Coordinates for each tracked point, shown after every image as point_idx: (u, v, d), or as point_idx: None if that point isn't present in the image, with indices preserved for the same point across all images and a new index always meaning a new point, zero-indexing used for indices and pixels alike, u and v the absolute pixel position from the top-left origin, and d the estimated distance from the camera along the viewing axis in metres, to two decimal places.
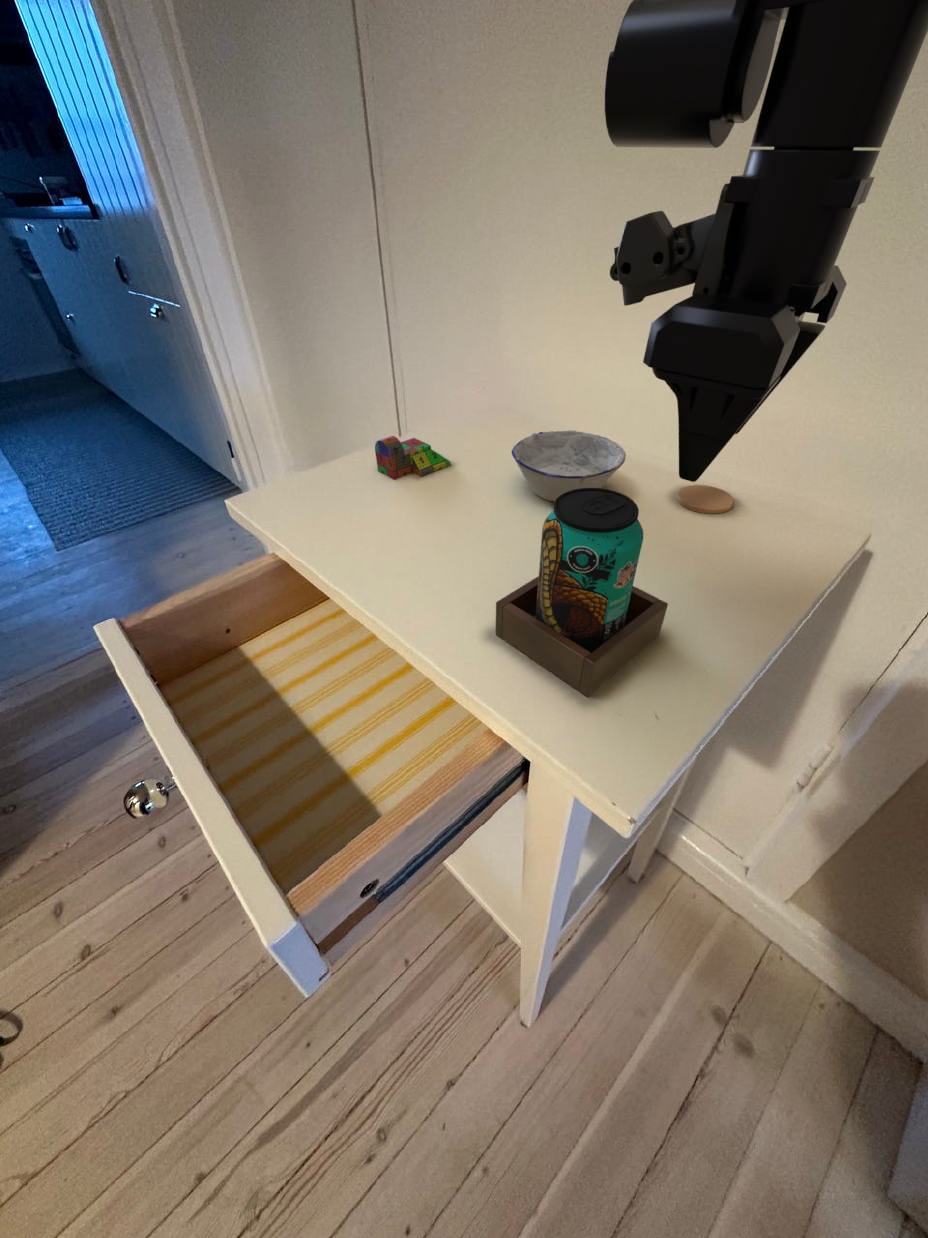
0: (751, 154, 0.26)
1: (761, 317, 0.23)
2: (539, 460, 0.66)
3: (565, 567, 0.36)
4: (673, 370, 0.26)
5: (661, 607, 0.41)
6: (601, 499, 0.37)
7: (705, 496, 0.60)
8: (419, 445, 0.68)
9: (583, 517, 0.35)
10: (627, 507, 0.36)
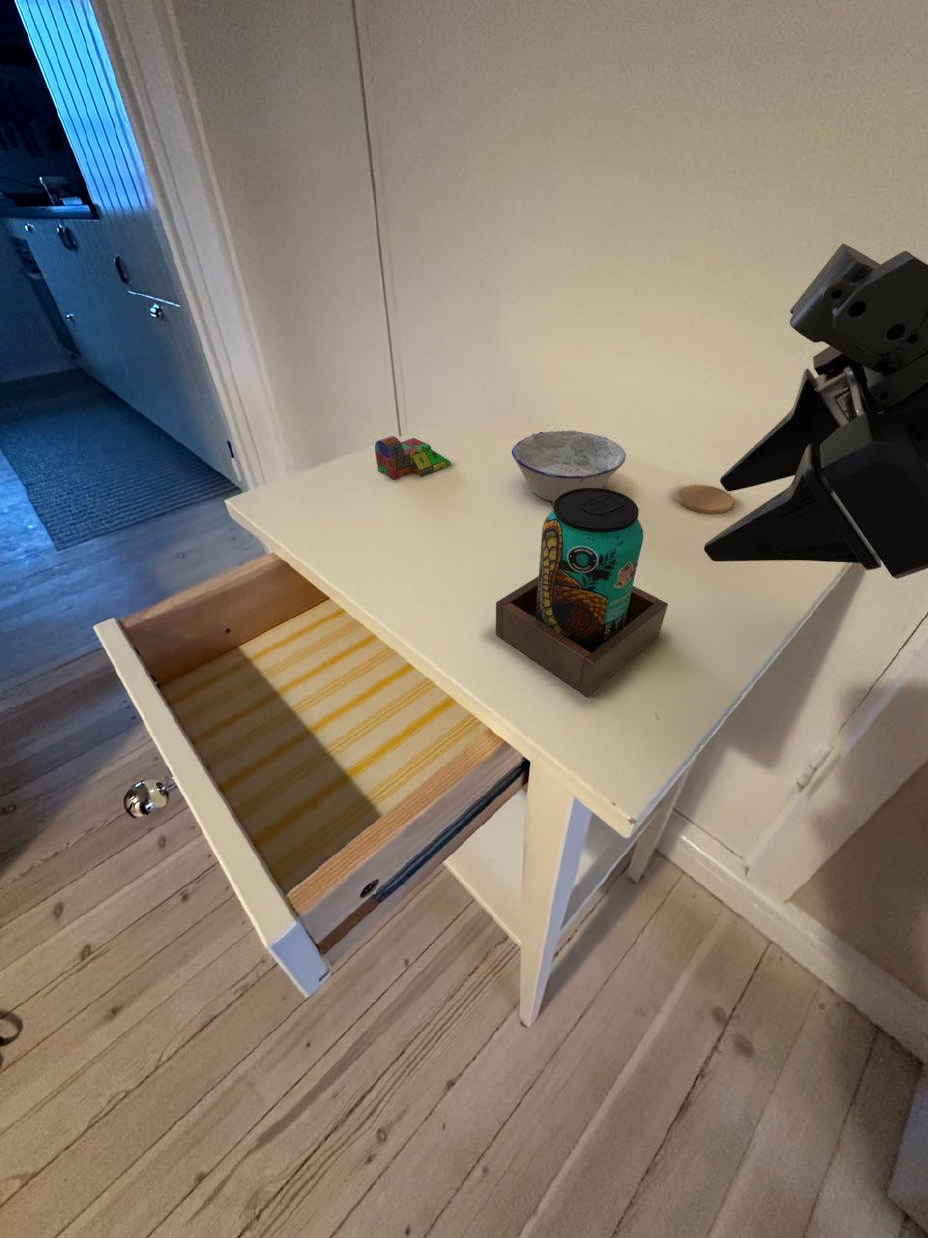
0: None
1: None
2: (539, 460, 0.66)
3: (565, 567, 0.36)
4: (847, 507, 0.21)
5: (661, 607, 0.41)
6: (601, 499, 0.37)
7: (705, 496, 0.60)
8: (419, 446, 0.68)
9: (583, 517, 0.35)
10: (627, 507, 0.36)
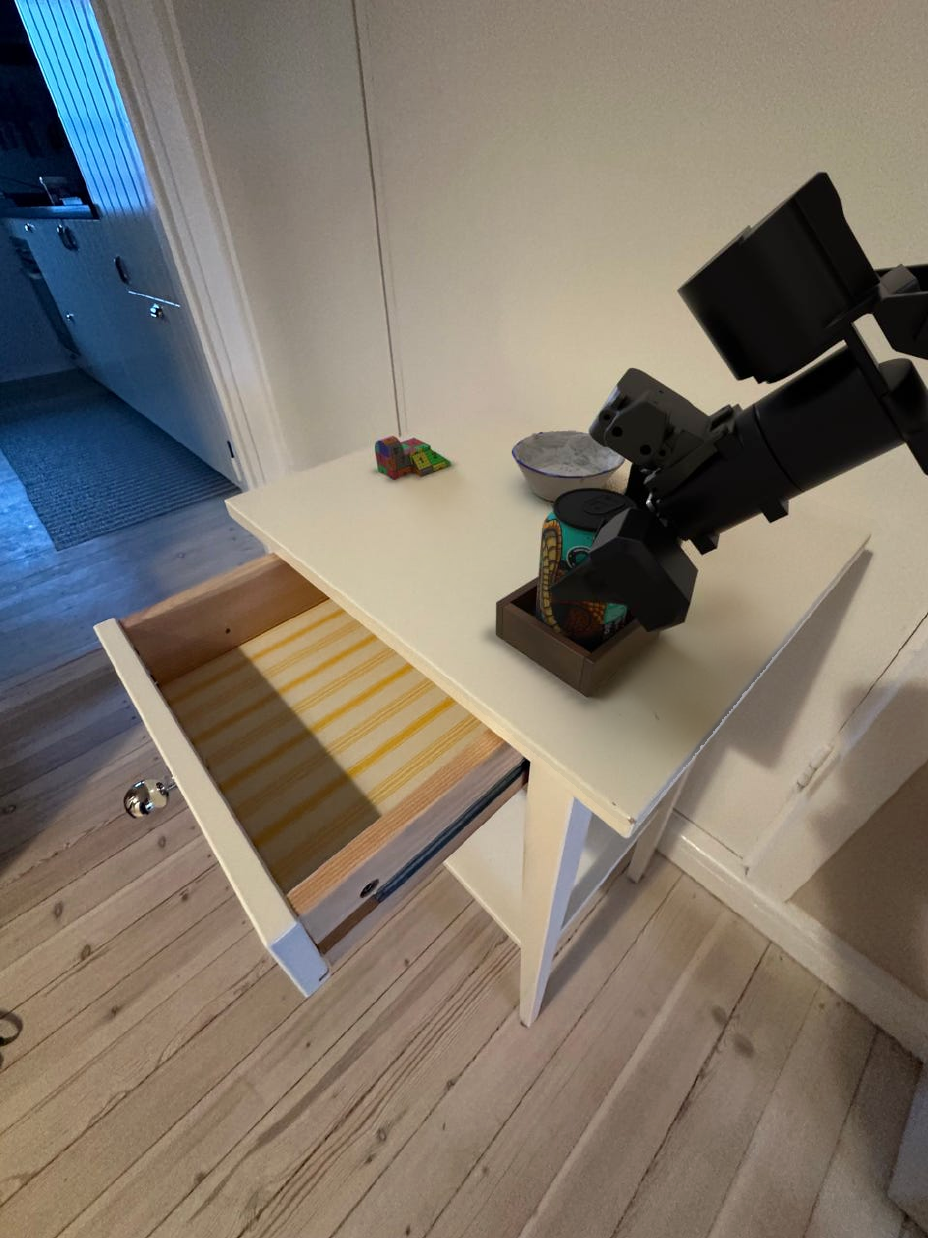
0: (752, 424, 0.28)
1: (685, 598, 0.28)
2: (539, 460, 0.66)
3: (564, 567, 0.36)
4: (607, 581, 0.28)
5: None
6: (601, 499, 0.37)
7: None
8: (419, 445, 0.68)
9: (583, 517, 0.35)
10: (627, 507, 0.36)
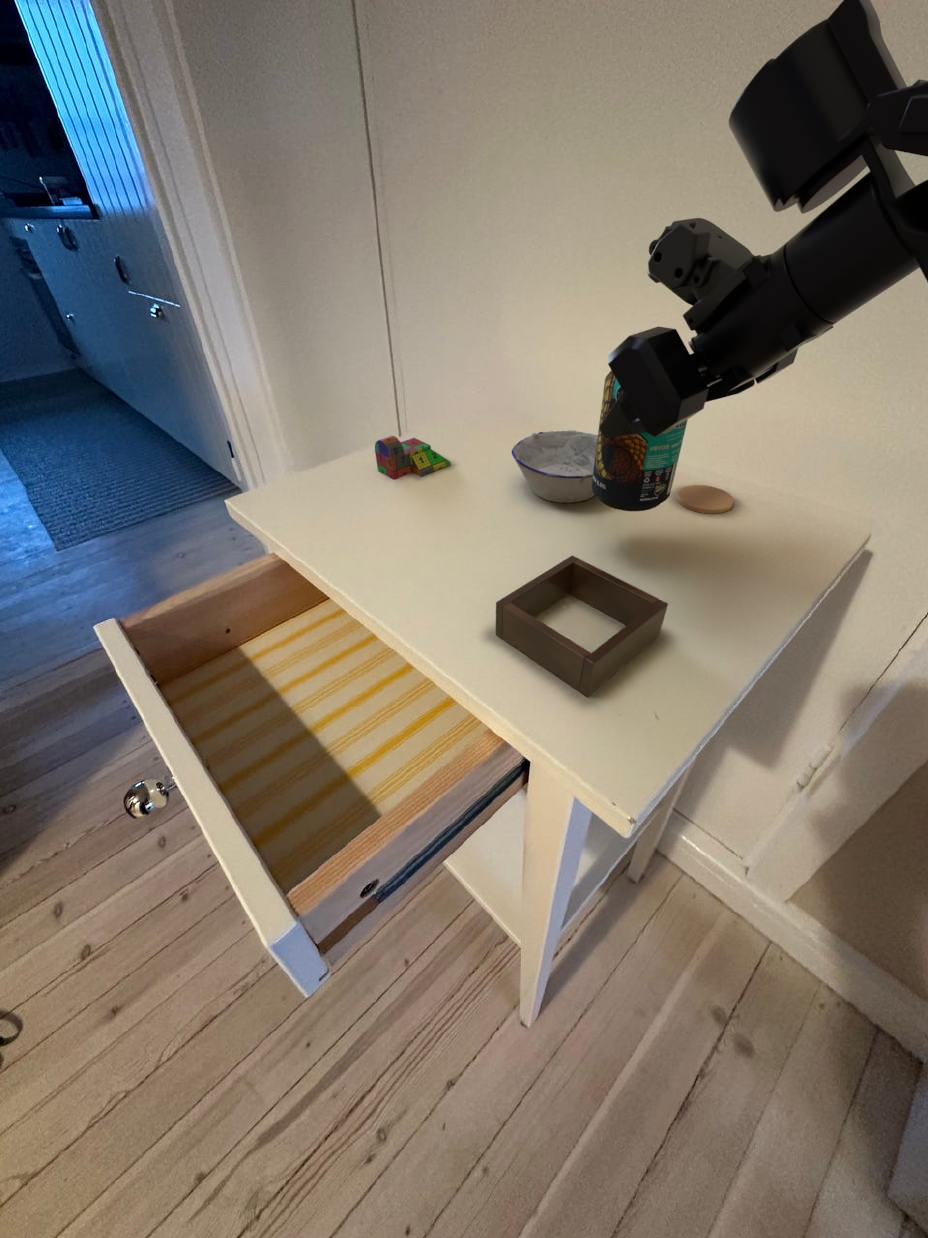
0: (780, 251, 0.31)
1: (678, 395, 0.32)
2: (539, 460, 0.66)
3: None
4: (618, 380, 0.34)
5: (661, 607, 0.41)
6: None
7: (705, 496, 0.60)
8: (419, 445, 0.68)
9: None
10: None
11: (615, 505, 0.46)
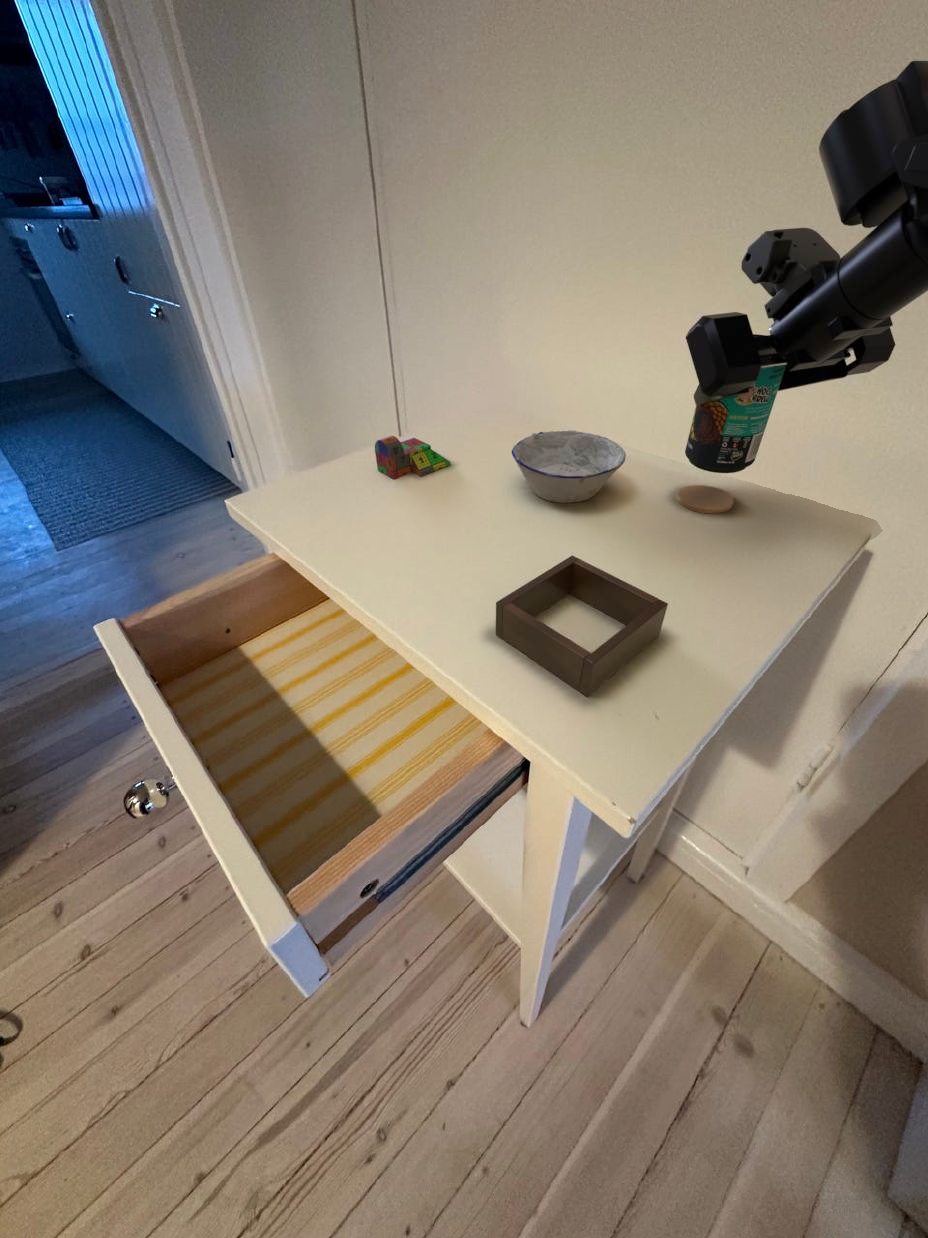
0: None
1: (726, 364, 0.42)
2: (539, 460, 0.66)
3: None
4: (689, 349, 0.45)
5: (661, 607, 0.41)
6: None
7: (705, 496, 0.60)
8: (419, 445, 0.68)
9: None
10: None
11: (697, 463, 0.56)
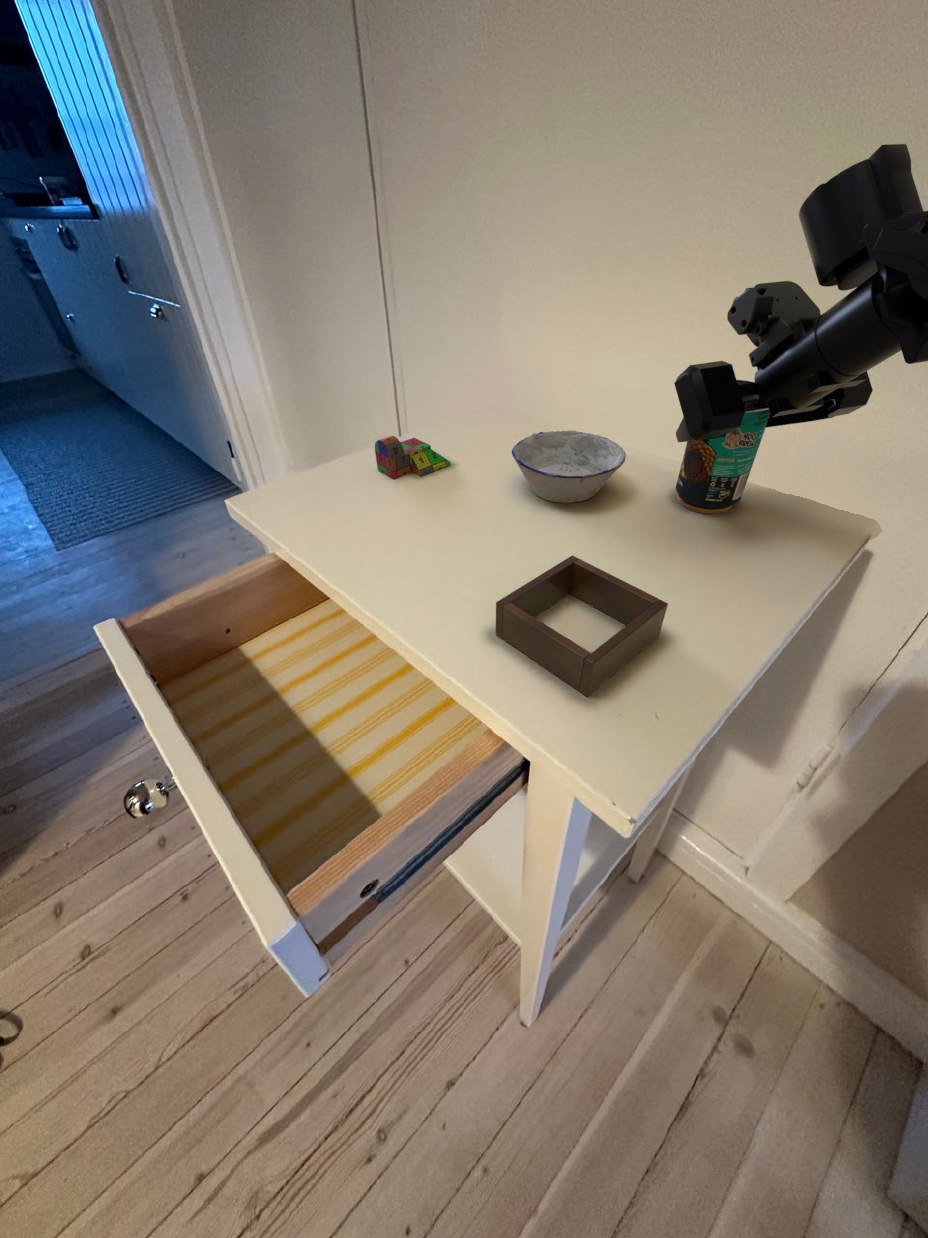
0: (819, 316, 0.42)
1: (711, 412, 0.45)
2: (539, 460, 0.66)
3: None
4: (678, 395, 0.48)
5: (661, 607, 0.41)
6: None
7: None
8: (419, 445, 0.68)
9: None
10: None
11: (687, 500, 0.58)
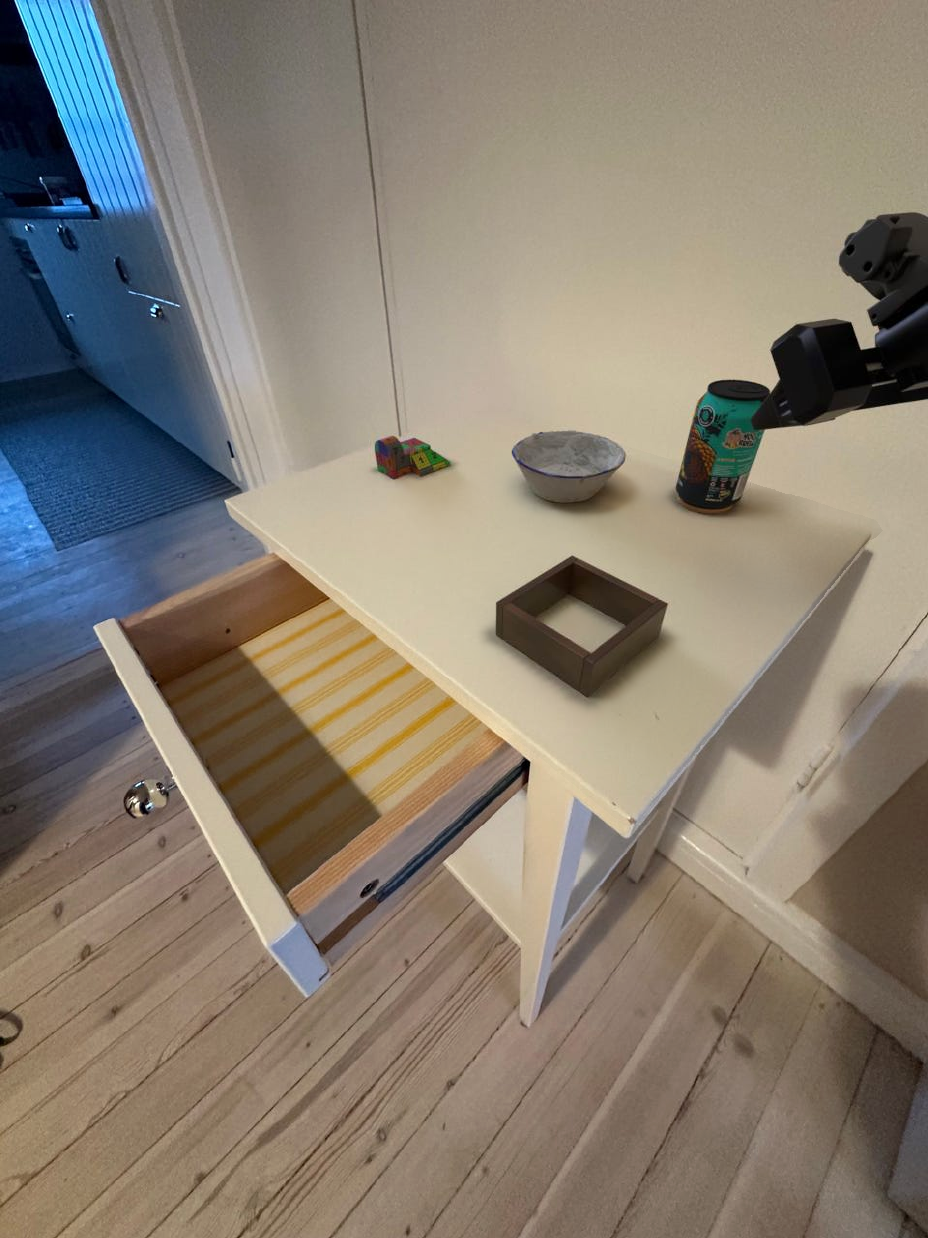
0: None
1: (832, 386, 0.33)
2: (539, 460, 0.66)
3: (696, 421, 0.54)
4: (776, 366, 0.36)
5: (661, 607, 0.41)
6: (749, 387, 0.53)
7: None
8: (419, 445, 0.68)
9: (722, 389, 0.52)
10: (759, 393, 0.51)
11: (687, 500, 0.58)
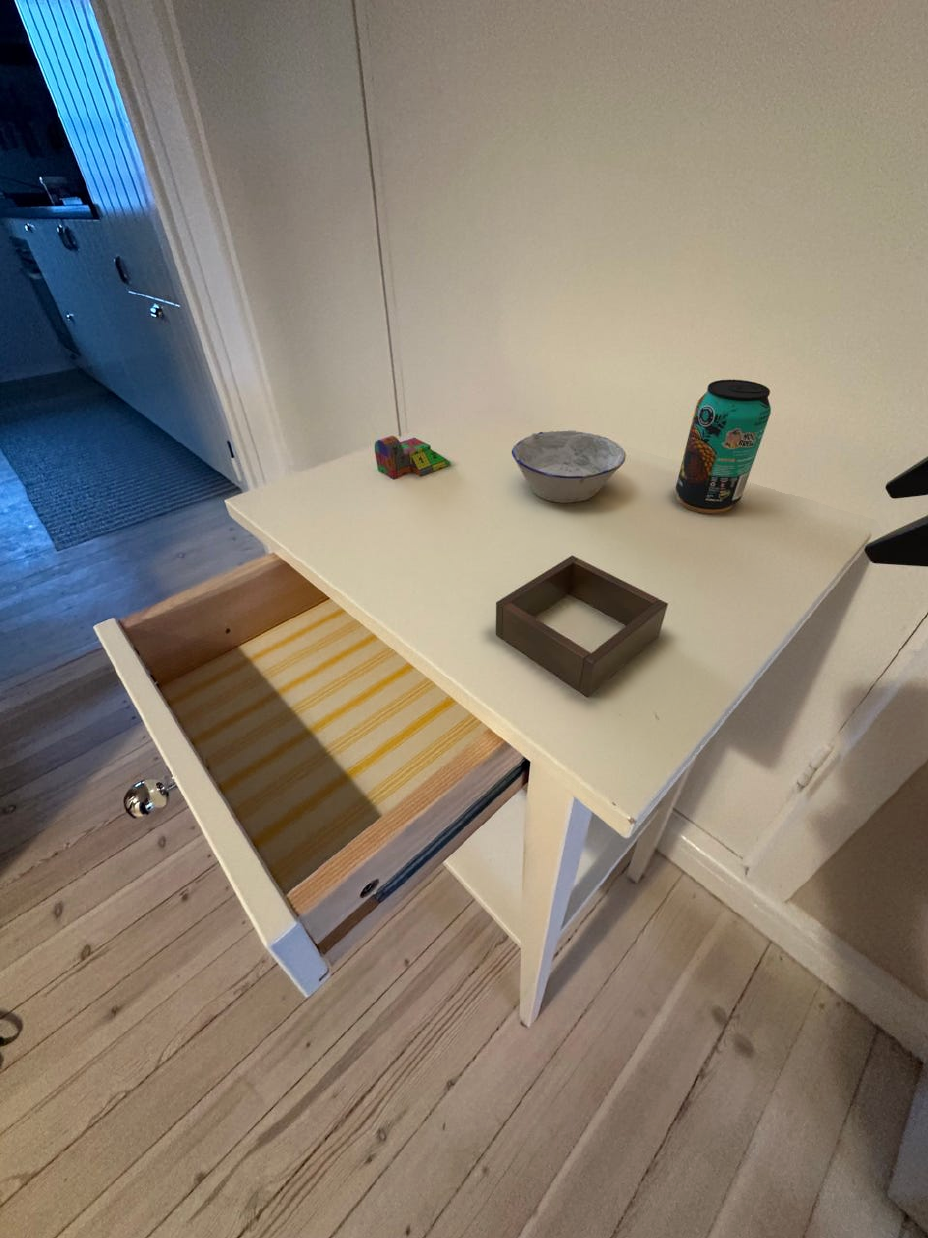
0: None
1: None
2: (539, 460, 0.66)
3: (696, 421, 0.54)
4: None
5: (661, 607, 0.41)
6: (749, 387, 0.53)
7: None
8: (419, 445, 0.68)
9: (722, 389, 0.52)
10: (759, 393, 0.51)
11: (687, 500, 0.58)
